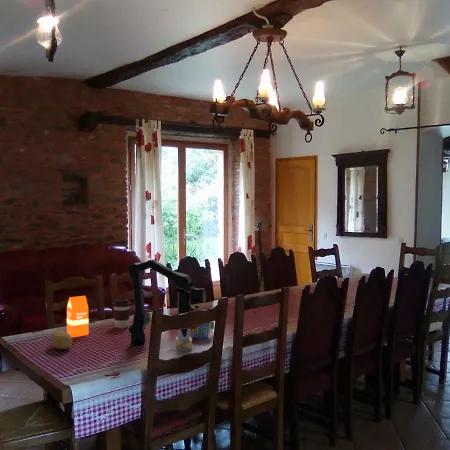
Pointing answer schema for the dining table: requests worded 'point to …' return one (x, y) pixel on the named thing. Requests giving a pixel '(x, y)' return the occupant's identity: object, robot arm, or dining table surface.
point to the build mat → (183, 349)
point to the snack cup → (202, 331)
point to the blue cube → (183, 336)
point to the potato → (61, 339)
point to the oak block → (183, 344)
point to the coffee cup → (121, 312)
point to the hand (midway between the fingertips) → (183, 334)
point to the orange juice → (77, 316)
